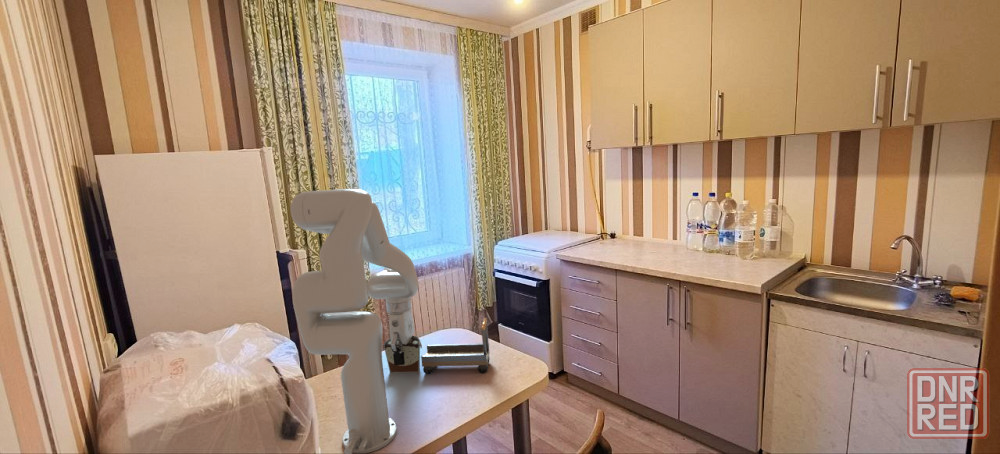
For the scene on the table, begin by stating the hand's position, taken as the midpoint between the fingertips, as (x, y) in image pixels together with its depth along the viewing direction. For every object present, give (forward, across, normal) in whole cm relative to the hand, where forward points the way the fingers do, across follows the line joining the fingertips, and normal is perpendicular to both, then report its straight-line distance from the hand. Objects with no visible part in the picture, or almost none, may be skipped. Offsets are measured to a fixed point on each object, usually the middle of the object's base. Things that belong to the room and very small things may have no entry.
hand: (404, 356), depth 134 cm
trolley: (+4, 0, -17) cm, 17 cm away
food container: (+5, +1, 0) cm, 5 cm away
